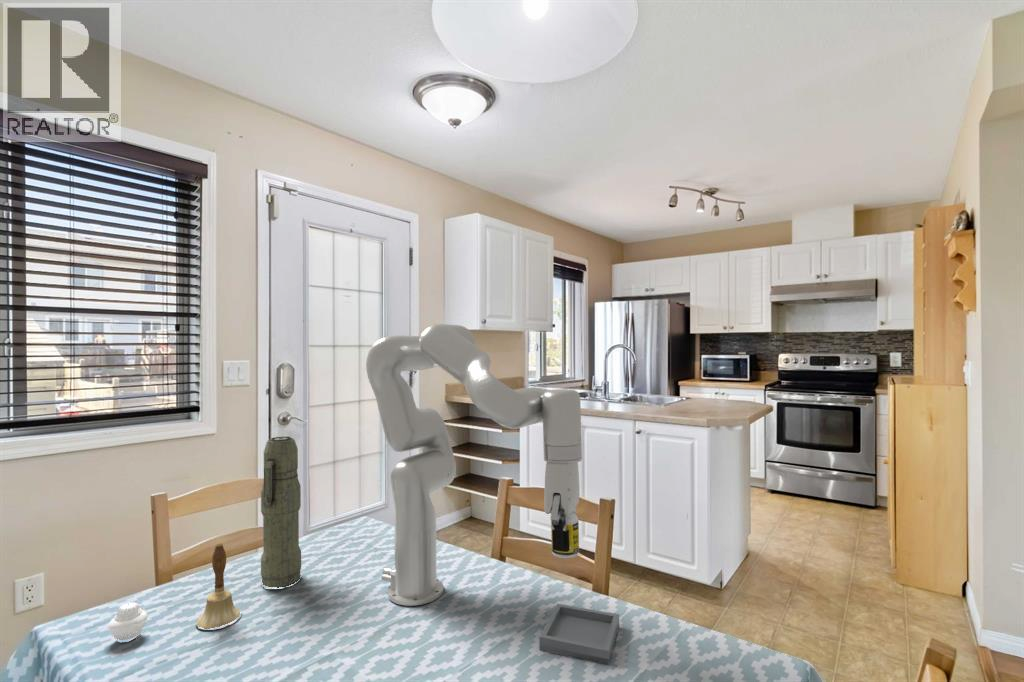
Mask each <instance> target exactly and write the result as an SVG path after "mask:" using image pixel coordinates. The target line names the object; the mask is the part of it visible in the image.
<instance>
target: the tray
mask: <svg viewBox="0 0 1024 682" xmlns="http://www.w3.org/2000/svg"><path fill="white" fill-rule="evenodd" d="M619 629H620V613H619V614H618V613H613V612H607V611H601V610H596V609H591V608H585V607H581V606H580V607H578V606H573V605H569V604H568V605H567V604H563V603H557V604H556V605H555V607H554V609H553V611H552V613H551V615H550V617H548V619H547V622H546V624H545V626H544V628H543V629H542V631H541V633H540V635H539V637H538V638H539V641H538V642H539V646H538V647H539V648H538V649H539V651H540V652H546V653H552V654H555V655H560V656H564V657H565V656H566V657H570V658H574V659H579V660H584V661H588V662H594V663H597V664H603V665H607V666H610V662H611V658H612V655H613V652H614V649H615V644H616V641H617V637H618V633H619V631H620V630H619Z"/></svg>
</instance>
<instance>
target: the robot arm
mask: <svg viewBox="0 0 1024 682" xmlns="http://www.w3.org/2000/svg"><path fill="white" fill-rule="evenodd" d="M365 361H366V363H365V368H366V369H365V370H366V374H367V375H366V376H367V378H368V381H369V384H370V386H371V389H372V391H373V394H374V396H375V399H376V404H377V405H376V406H377V408H378V413H379V417H380V420H381V421H380V422H381V424H382V429H383V432H384V437H385V440H386V443H387V445H388V446H389V448H390V449H391V450H392V451H394V452H397V453H404V452H409V451H412V450H417V449H418V451H419V453H416V454H414V455H411V456H408V457H406V458H403V459H401V460H399V461H398V462H397V463H396V464H395V465H394V466H393V467H392V469H391V471H390V474H389V486H390V492H391V497H392V502H393V503H392V504H393V512H394V513H393V514H394V515H393V517H394V518H393V519H394V524H393V525H394V569H393V568H390V567H385V568H384V569H383V571H382V575H381V581H384V582H389V583H390V586H389V587H388V590H387V597H388V599H389V600H390V601H391V602H393V603H394V604H397V605H398V606H399V605H400V606H405V607H406V606H407V607H410V606H421V605H425V604H426V605H427V604H429V603H431V602H434V601H435V600H437V599H439V598H440V597H441V595H442V594H443V592H444V584H443V582H442V581H441V580H440V579H439V578H437V514H436V509H435V506H434V503H433V501H432V499H431V497H430V495H431V494H432V493H434V492H436V491H439V490H441V489H444V488H445V487H446V488H447V486H449V485H450V484H451V483H452V482H453V481H454V479H455V477H456V473H457V464H456V459H455V456H454V451H453V448H452V445H451V441H450V437H449V433H448V429H447V426H446V424H445V421H444V419H443V417H442V416H441V414H440V413H439V412H438V411H437V410H435V409H434V408H431V407H427V406H426V407H417V405H416V402H415V399H414V395H413V391H412V389H411V387H410V385H409V383H408V381H406V380H405V378H404V377H403V376H402V374H401V373H402V372H411V371H412V372H413V371H422V370H423V371H425V370H430V369H435V368H438V367H439V368H440V369H441V370H443V371H445V372H446V373H448V374H449V375H450V376H451V377H452V378H454V379H455V380H457V381H458V382H459V383H460V384H461V385H463V386H464V388H465V391H466V394H467V395H468V397H469V399H470V400H471V402H472V404H473V405H474V406H475V407H476V409H478V410H479V411H481V412H482V413H483V414H484V415H486V416H487V417H488V418H490V419H491V420H492V421H494V422H495V423H496V424H499V425H500V426H502V427H504V428H506V429H511V430H518V429H521V428H525V427H528V426H531V425H534V424H535V425H536V424H539V423H542V433H543V435H542V437H543V439H542V440H543V442H542V443H543V461H544V462H546V463H545V471H544V473H545V474H544V494H543V495H544V496H543V497H544V501H543V503H544V513H545V514H546V515H549V514H550V522H551V521H552V544H553V550H555V551H563V552H568V551H569V549H570V548H569V530H567V523H568V515H569V514H570V513H571V512H572V511H573V509H574V508H575V511H574V514H576V515H577V509H576V508H577V506H578V504H579V501H580V471H579V462H581V461H582V460H583V447H582V445H583V441H582V414H581V413H582V412H581V411H582V410H581V407H582V406H581V395H580V393H579V392H578V391H577V390H574V389H568V388H562V389H561V388H558V389H557V388H555V389H547V388H541V387H533V386H532V387H524V388H517V389H512V388H511V387H509V386H508V385H506V384H505V383H503V382H502V381H501V380H499V379H498V378H497V377H495V375H493V374H492V373H491V371H490V368H491V363H492V362H491V361H492V360H491V356H490V355H489V354H488V353H487V352H486V351H484V350H483V349H481V348H480V347H479V346H476V340H475V337H474V334H473V333H472V331H471V330H469V328H467V327H465V326H463V325H458V324H447V323H446V324H444V323H438V324H437V323H436V324H432V325H430V326H428V327H426V328H425V329H424V330H423V331H422V332H421V334H420V335H388V336H384V337H382V338H379V339H378V340H377V341H375V342H374V343H373V344H372V345H371V347H370V349H369V351H368V353H367V356H366V360H365ZM560 510H565V512H564V514H563V513H560ZM559 516H560V517H564V520H563V521H562V519H560V517H559ZM577 516H578V515H577Z"/></svg>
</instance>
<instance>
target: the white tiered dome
mask: <svg viewBox="0 0 1024 682" xmlns="http://www.w3.org/2000/svg"><path fill="white" fill-rule="evenodd" d="M148 616H149V615H148V613H147V612H146V611H145V610H143V609H142V608H141V607H140V604H139V603H138V602H128V603H125V604H123V605H121V606H120V607H119V608H118V609H117V610H116V614H115V615H114V617H113V618H112V619H111V620H110V621H109V624H108V629H109V632H110V634H111V635H112V636H113V637H114V639H115V640H116V639H117V640H118V639H119V640H125V639H126V640H127V639H130V638H133V637H135V636H137V635H138V634H140V635H141V632H142V631H143V630H144V627H145V625H146V622H147V620H148ZM117 640H116V641H117Z"/></svg>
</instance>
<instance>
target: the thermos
mask: <svg viewBox="0 0 1024 682" xmlns="http://www.w3.org/2000/svg"><path fill="white" fill-rule="evenodd" d="M298 453H299V449H298V445H297V443H296V440H295V438H293V437H291V436H275V437H271V438H270V439H269V440H267V441H266V444H265V447H264V449H263V483H262V486H261V488H260V489H261V490H260V512H261V514H262V518H263V519H262V521H263V523H262V525H263V528H262V531H263V532H262V534H263V535H262V536H263V538H262V539H263V544H262V546H263V547H262V549H263V550H262V551H263V552H262V553H261V557H260V576H261V584H262V583H263V585H265V586H268V587H277V588H279V587H286V586H289V585H291V584H294V583H295V582H297V581H298V580H299V579H300V580H301V578H300V576H301V570H302V550H301V547H300V545H299V544H300V537H299V535H300V534H299V531H300V530H299V529H300V528H299V526H300V523H299V520H300V519H299V518H300V517H299V515H300V514H299V513H300V509H301V503H302V501H301V500H302V499H301V496H302V495H301V493H302V492H301V490H302V489H301V484H300V480H299V474H298V469H299V468H298V467H299V465H298V464H299V460H298V457H299V454H298Z"/></svg>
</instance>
